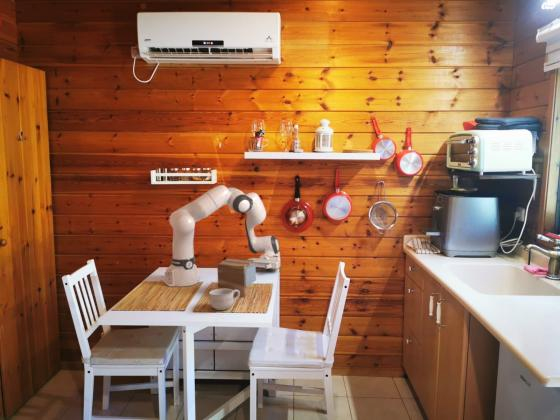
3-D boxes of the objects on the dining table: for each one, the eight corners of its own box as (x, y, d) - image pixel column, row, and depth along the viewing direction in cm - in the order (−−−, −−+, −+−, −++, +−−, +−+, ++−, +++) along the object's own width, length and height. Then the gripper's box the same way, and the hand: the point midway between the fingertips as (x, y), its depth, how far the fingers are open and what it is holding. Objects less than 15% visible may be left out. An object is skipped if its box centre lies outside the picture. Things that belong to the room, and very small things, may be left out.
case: (249, 279, 245) (249, 263, 244) (255, 280, 244) (255, 264, 243) (239, 287, 232) (239, 270, 231) (246, 287, 231) (245, 270, 229)
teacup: (210, 313, 195) (209, 295, 194) (209, 305, 206) (208, 288, 204) (242, 310, 198) (241, 293, 197) (239, 302, 208) (238, 286, 207)
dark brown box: (228, 287, 231) (228, 258, 229) (254, 289, 227) (253, 260, 225) (218, 294, 220) (217, 264, 218) (244, 297, 215) (243, 266, 213)
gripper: (250, 254, 268) (241, 260, 255) (282, 256, 261) (274, 262, 248) (250, 264, 269) (241, 270, 256) (282, 267, 262) (275, 273, 249)
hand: (258, 266), depth 252 cm, fingers open, 8 cm apart
